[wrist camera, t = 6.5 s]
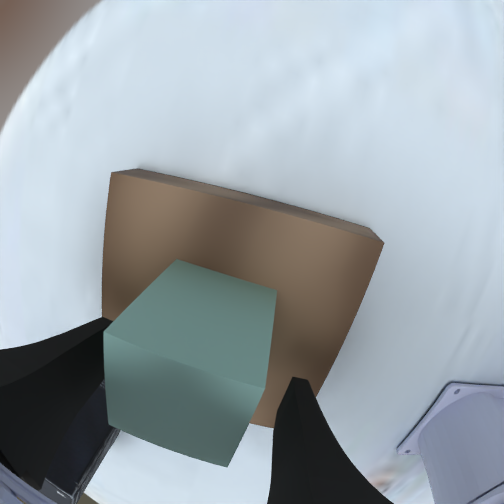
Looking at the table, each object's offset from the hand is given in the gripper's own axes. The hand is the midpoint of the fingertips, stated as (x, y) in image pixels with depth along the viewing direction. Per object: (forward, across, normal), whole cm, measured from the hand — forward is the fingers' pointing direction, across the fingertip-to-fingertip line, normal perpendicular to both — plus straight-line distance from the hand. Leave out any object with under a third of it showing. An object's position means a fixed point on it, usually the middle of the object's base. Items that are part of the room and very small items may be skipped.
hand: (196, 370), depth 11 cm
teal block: (+3, 0, -1) cm, 3 cm away
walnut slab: (+6, 0, 0) cm, 6 cm away
